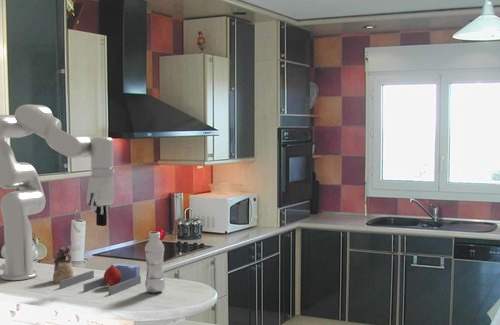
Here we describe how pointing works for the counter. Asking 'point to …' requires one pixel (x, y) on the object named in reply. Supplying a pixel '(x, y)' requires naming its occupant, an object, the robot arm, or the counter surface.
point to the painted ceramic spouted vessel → (62, 265)
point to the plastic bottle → (154, 263)
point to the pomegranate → (112, 275)
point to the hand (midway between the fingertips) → (101, 225)
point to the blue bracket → (128, 271)
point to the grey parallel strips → (99, 282)
